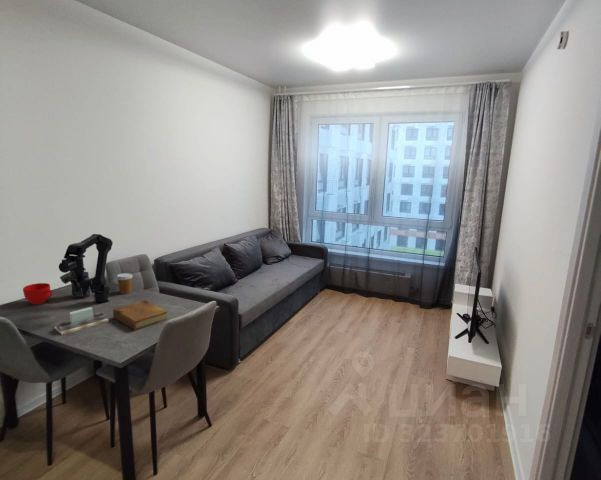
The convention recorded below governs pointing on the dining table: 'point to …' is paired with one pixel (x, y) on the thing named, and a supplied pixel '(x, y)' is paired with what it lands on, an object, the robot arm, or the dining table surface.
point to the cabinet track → (81, 323)
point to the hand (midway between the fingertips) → (80, 293)
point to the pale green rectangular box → (81, 315)
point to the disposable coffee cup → (124, 282)
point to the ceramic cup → (37, 293)
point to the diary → (140, 315)
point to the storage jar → (79, 294)
